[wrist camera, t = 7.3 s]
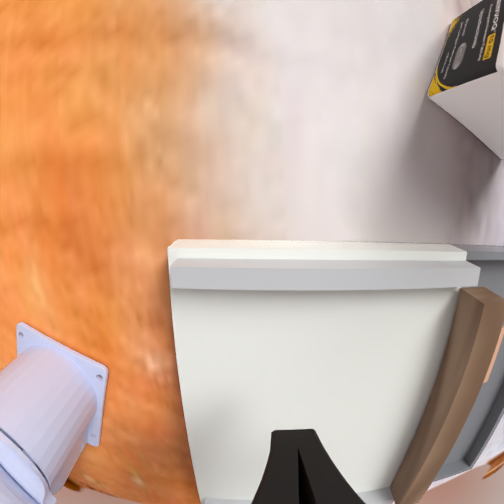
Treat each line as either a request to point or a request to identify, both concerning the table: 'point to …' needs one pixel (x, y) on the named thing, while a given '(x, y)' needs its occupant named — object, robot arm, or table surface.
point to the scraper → (452, 391)
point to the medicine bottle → (474, 73)
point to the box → (498, 384)
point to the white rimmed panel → (308, 352)
